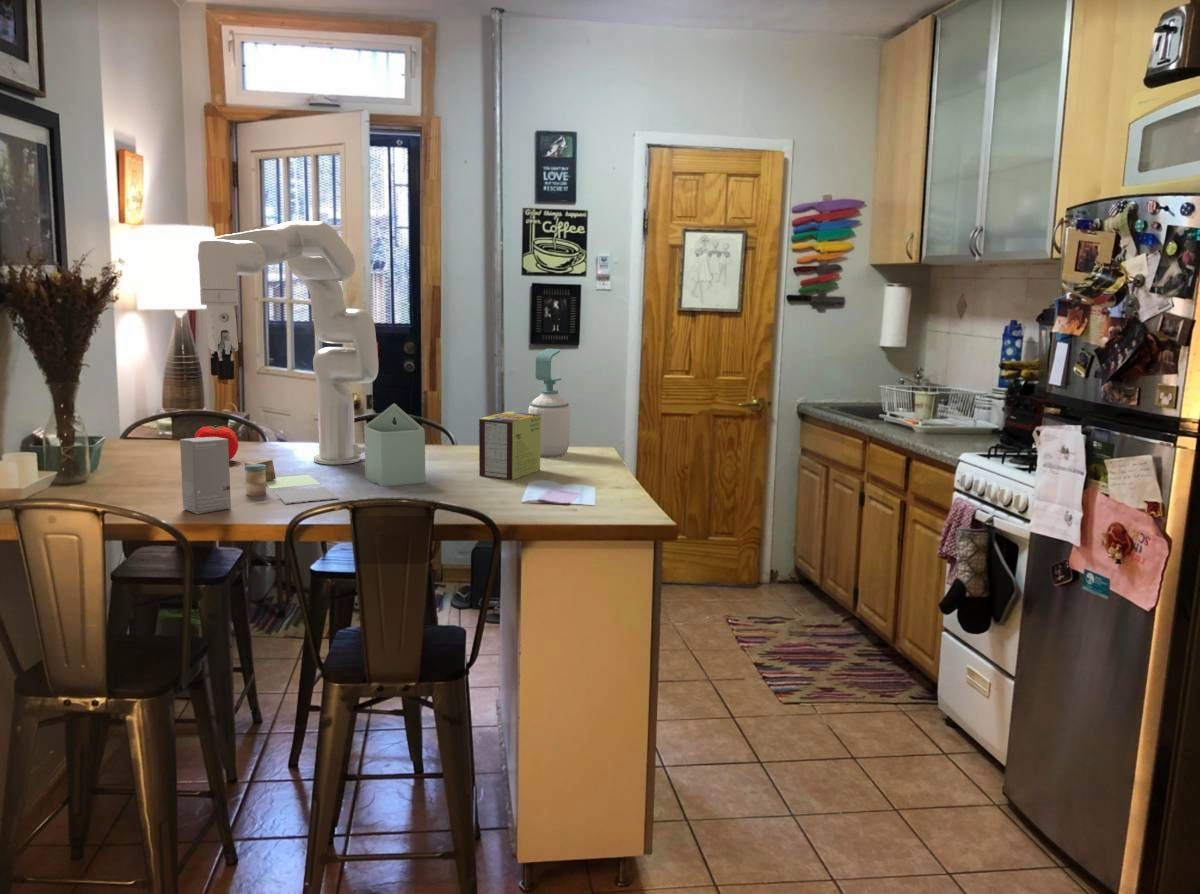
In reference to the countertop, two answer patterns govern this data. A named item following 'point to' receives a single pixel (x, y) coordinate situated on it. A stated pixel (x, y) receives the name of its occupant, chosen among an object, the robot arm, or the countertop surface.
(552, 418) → the soap bottle
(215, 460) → the skincare box
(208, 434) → the tomato
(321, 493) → the grey square tile
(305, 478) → the mat
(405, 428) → the planter
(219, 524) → the countertop surface
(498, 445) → the protein box
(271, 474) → the walnut block
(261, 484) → the green lidded jar
